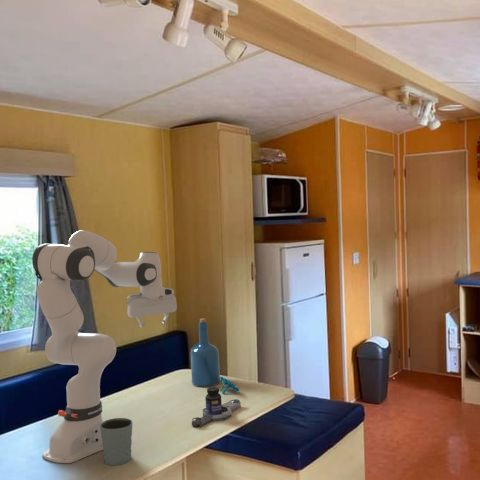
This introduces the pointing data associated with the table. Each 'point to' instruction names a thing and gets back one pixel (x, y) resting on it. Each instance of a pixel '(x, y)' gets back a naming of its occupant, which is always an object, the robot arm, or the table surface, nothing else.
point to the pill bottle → (213, 401)
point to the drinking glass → (116, 440)
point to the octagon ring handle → (209, 418)
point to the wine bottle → (204, 359)
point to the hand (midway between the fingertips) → (153, 325)
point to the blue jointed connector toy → (227, 385)
